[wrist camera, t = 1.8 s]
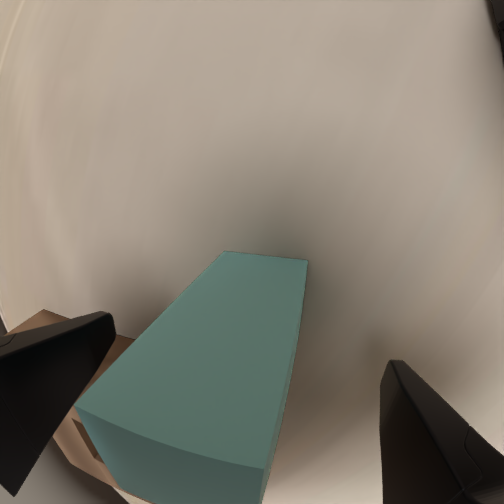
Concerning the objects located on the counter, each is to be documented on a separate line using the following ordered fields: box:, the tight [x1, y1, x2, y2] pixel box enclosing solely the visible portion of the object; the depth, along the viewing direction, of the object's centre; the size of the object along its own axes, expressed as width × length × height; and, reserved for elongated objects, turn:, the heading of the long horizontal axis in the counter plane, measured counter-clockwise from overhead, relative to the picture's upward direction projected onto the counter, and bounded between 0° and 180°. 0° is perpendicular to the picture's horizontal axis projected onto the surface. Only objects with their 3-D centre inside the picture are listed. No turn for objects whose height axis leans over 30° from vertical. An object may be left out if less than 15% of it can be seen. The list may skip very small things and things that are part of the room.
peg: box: [74, 251, 308, 504], centre depth 9 cm, size 3×3×9 cm
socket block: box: [4, 309, 156, 504], centre depth 16 cm, size 14×14×4 cm
